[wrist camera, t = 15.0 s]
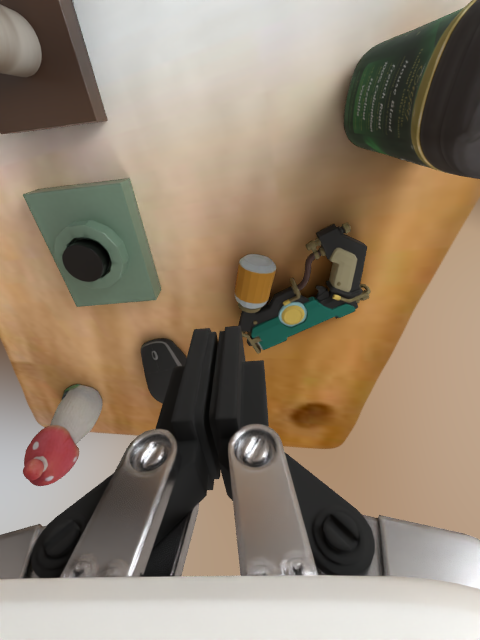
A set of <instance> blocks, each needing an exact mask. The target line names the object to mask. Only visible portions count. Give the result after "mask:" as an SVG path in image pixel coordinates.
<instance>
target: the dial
mask: <svg viewBox="0 0 480 640" xmlns="http://www.w3.org/2000/svg"><path fill="white" fill-rule="evenodd" d="M41 59H42V53H41V46H40V43H39V40H38V37H37V35H36V33H35V31H34V30H33V28H32V27H31V25H30V24H29V23H28V21H27V20H26V19H25V18H24V17H23V16H21V15H20V14H19V13H17V12H16V11H14V10H11V9H9V8H7V7H5V6H3V5H0V73H2V74H8V75H13V76H19V77H29V76H32V75H34V74H35V73H36V72H37V71H38V69H39V67H40V64H41Z"/></svg>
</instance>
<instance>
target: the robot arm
mask: <svg viewBox="0 0 480 640" xmlns="http://www.w3.org/2000/svg"><path fill="white" fill-rule="evenodd" d="M220 470H221V473H222V476H223V480H224V484H225V488H226V492H227V495H228V496H229V497H230V498H231V499H232V501H233V505H234V515H235V525H236V535H237V544H238V553H239V564H240V573H241V576H181V575H182V571H183V567H184V563H185V559H186V556H187V552H188V548H189V544H190V540H191V536H192V533H193V529H194V525H195V521H196V517H197V514H198V507H199V502H200V501H201V500H202V499H203V498H204V497H205V496H206V493H207V490H213V485H214V479H219V477H220ZM0 640H480V540H479V539H477V538H474V537H472V536H469V535H466V534H463V533H459V532H454V531H449V530H445V529H440V528H436V527H431V526H427V525H422V524H418V523H413V522H408V521H404V520H399V519H395V518H390V517H386V516H381V515H379V517H378V518H374V517H370V516H365V515H362V514H360V512H359V511H358V510H357V509H356V508H354V507H353V506H352V505H351V504H349V503H348V502H347V501H345V500H344V499H343V498H342V497H340V496H339V495H338V494H336V493H335V492H334V491H333V490H332V489H330V488H329V487H328V486H327V485H325V484H324V483H323V482H322V481H320V480H319V479H318V478H317V477H315V476H314V475H313V474H312V473H310V472H309V471H308V470H306V469H305V468H304V467H303V466H301V465H300V464H299V463H298V462H296V461H295V460H294V459H293V458H291V457H290V456H289V455H288V454H286V453H285V452H284V449H283V445H282V442H281V440H280V437H279V435H278V434H277V433H276V432H275V431H274V430H273V429H271V428H269V425H268V410H267V395H266V382H265V370H264V360H262V361H247V362H245V355H244V347H243V339H242V332H241V326H232V327H225V331H220V333H219V341H218V339H217V334H216V332H211V330H210V328H206V329H195V330H194V332H193V336H192V340H191V344H190V348H189V352H188V356H187V360H186V364H185V366H175V367H174V369H173V372H172V375H171V378H170V382H169V385H168V389H167V392H166V395H165V399H164V402H163V405H162V409H161V412H160V416H159V419H158V422H157V426H156V429H153V430H150V431H146V432H144V433H142V434H141V435H139V436H138V437H136V438H135V439H134V440H133V441H132V442H131V443H130V445H129V446H128V448H127V449H126V451H125V453H124V455H123V457H122V459H121V461H120V463H119V465H118V467H117V469H116V470H115V472H114V473H113V474H112V475H111V476H109V477H108V478H107V479H106V480H104V481H103V482H102V483H101V484H99V485H98V486H97V487H95V488H94V489H92V490H91V491H90V492H89V493H87V494H86V495H85V496H84V497H82V498H81V499H79V500H78V501H77V502H76V503H74V504H73V505H72V506H70V507H69V508H68V509H66V510H65V511H64V512H63V513H61V514H60V515H59V516H57V517H56V518H55V519H54V520H53V521H52V522H50V523H49V524H48V525H47V526H44V527H43V526H41V525H40V524H38V525H34V526H30V527H27V528H24V529H20V530H16V531H13V532H9V533H5V534H2V535H0Z"/></svg>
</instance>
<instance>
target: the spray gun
mask: <svg viewBox="0 0 480 640" xmlns="http://www.w3.org/2000/svg"><path fill="white" fill-rule="evenodd" d="M350 231H351V227H350V225H349V224H348V223H344V224H342V226H341V227H339V226H338V227H337V226H336V225H335V224H332V225H330V226H328V227H327V228H325V229H323V230H321V231H319V232H317V233H316V235H317V237H318V238H317V239H316V240H315V241H310V242H309V243H308V244H306V247H307V249H308V250H311V249H312V251H313V253H312V254H310V255H309V256H308V258H307V259H306V263H305V273H304V277H303V280H302V281H301V283H300V284H299V285H298V286H297V284H296V282H295V280H294V279H293V278H291V279H290V282H291V285H292V287H289V288H287V289H285V290H283V291H280V292H278V293H276V294H274V296H273V298H272V299H271V301H270V303H269V304H268V305H266V306H264V305H265V304H266V302H267V301H268V298H269V295H270V291H271V287H272V283H273V279H274V275H275V271H276V265H275V264H274V262H273V261H272V260H271V259H270V258H268V257H266V256H263V255H259V254H249V255H246V256H244V257H243V258H241V259H240V261H239V266H238V272H237V279H236V286H235V298H236V300H237V302H238V306H239V308H240V309H241V310H242V313H241V317H240V321H239V326H241V332H242V337H246V338H247V343H248V345H249V346H253V348H254V349H255V351H256V352H257V353H261V349H263V350H265V349H268V348H270V347H272V346H275V345H277V344H279V343H282V342H284V341H286V340H287V337H289V336H292V335H294V334H296V333H299V332H301V331H303V330H305V329H308V328H310V327H312V326H314V325H317V324H319V323H321V322H324V321H326V320H328V319H330V318H333V317H335V318H338V317H339V318H340V317H343V316H345V315H347V314H350V313H352V312H354V311H355V309H356V308H358V305H357V303H359V302H360V300H366V299H368V298H369V294H370V289H369V287H368V286H366V285H365V284H361V285H360V281H361V277H362V272H363V267H364V261H365V256H366V251H367V246H366V245H365V244H364V243H362V242H360V241H358V240H356V239H354V238H352V237H349V236H347V235H345V234H343V233H348V232H350ZM317 245H318V246H320V245H321V247H320V248H319V250H316V247H317ZM321 255H322V256H326V257H327V259H329V260H330V261H331V262H333V265H332V269H331V274H330V278H329V280H328V281H326V285H327V286H328V290H327V289H326V288H325V287H323V286H316V289H317V290H318V293H317V295H316V298H315V297H309V298H306V297H304V296H302V295H301V294H300V290H302V289H303V288H304V287H305V286H306V284H307V282H308V281H309V278H310V273H311V264H312V261H313V260H314V259H315V258H316V260H317V259H319V258H320V256H321ZM362 287H364V288H365V289H366V290H364V291H363V290H362V289H361V288H362ZM328 291H329V292H328ZM262 306H264V307H262ZM261 307H262V308H261ZM245 332H247V333H248V334H249V335H248V334H244V333H245ZM260 348H261V349H260Z"/></svg>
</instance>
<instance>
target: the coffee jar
mask: <svg viewBox="0 0 480 640" xmlns="http://www.w3.org/2000/svg"><path fill="white" fill-rule="evenodd" d="M344 128H345V132H346V135H347V137H348V138H349V140H350V141H351V142H352V143H353V144H355V145H356V146H358V147H361V148H364V149H367V150H371V151H374V152H378V153H382V154H386V155H389V156H392V157H395V158H398V159H402V160H405V161H408V162H412V163H415V164H418V165H422V166H426V167H429V168H432V169H435V170H438V171H441V172H445V173H449V174H454V175H459V176H464V177H471V178H477V179H480V0H472V1H471V2H470V3H469V4H468V5H467V6H465V7H464V8H462V9H460V10H458V11H456V12H453V13H451V14H449V15H447V16H444V17H442V18H440V19H438V20H435V21H433V22H430V23H428V24H426V25H424V26H421V27H419V28H417V29H414V30H412V31H409V32H407V33H404V34H402V35H399V36H396V37H394V38H391V39H389V40H387V41H385V42H382V43H380V44H378V45H376V46H375V47H373V48H371V49H370V50H369V51H368V52H367V53H366V54H365V55H364V56H363V57H362V58H361V60H360V61H359V63H358V64H357V66H356V68H355V70H354V73H353V76H352V79H351V82H350V86H349V90H348V94H347V99H346V105H345V112H344Z"/></svg>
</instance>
